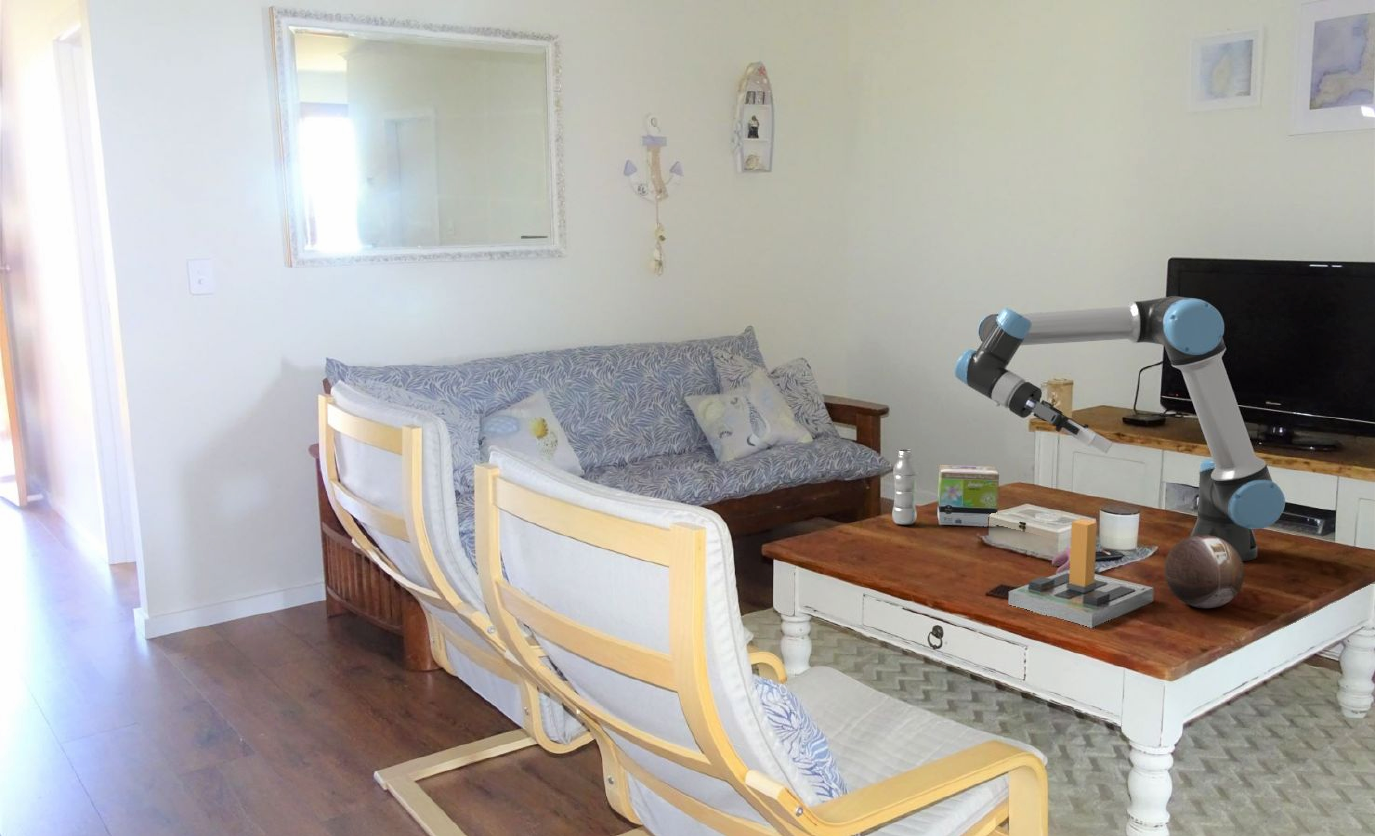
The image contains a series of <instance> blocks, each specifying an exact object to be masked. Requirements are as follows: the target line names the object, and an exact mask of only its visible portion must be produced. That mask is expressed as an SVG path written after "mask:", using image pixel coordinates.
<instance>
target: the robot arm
mask: <svg viewBox="0 0 1375 836" xmlns="http://www.w3.org/2000/svg"><path fill="white" fill-rule="evenodd" d="M1224 333H1225V322H1224V319H1223V316H1222V314H1221V312H1219V310H1218V308H1216V307H1215V306H1213V305H1212V304H1211V303H1209V302H1208V301H1206V300H1203V299H1200V298H1194V297H1185V296H1177V295H1172V296H1171V295H1170V296H1167V297H1166V296H1165V297H1161V298H1154V299H1148V300H1147V299H1146V300H1140V301H1139V300H1138V301H1130V303H1129V304H1128V305H1127V306H1116V307H1103V308H1102V307H1101V308H1086V309H1085V308H1084V309H1083V308H1082V309H1073V310H1071V309H1069V310H1056V311H1042V312H1027V313H1025V312H1024V313H1019V312H1016V311H1014V310H1012V309H1010V308H1008V307H1006V308H1003V309H1002V310H1001V311H1000V313H992V314H989V315H986V316H984V317H983V318H982V319H981V320H980V322H979V323H978V325H977V335H978V338H979V339H980V341H981V343H980V345H979V347H978V348H977V349H976V350H973V349H968V350H966V351H964V352H963V353H962V355H960V356H959V357H958V359H957V361H956V363H955V367H954V370H953V371H954V375H955V377H956V379H958V380H959V382H960V381H961V382H962V383H963V384H964V385H966V386H968V387H969V388H970V389H973V390H975V391H976V392H977V393H980V395H983V396H985V397H986V398H988V399H990V400H992V401H993V402H995V406H996V407H1000V406H1002V407H1004V408H1005V409H1009V411H1010V412H1011V413H1013V414H1015V415H1017V416H1018V417H1019V418H1022V419H1025V418H1028V417H1029V416H1030V415H1031V414H1032V413H1033V417H1035V418H1037V419H1039V420H1041V421H1044V422H1047V423H1049V424H1051V425H1052V426H1053V427H1055V428H1054V430H1055V431H1057V432H1058V433H1060V432H1061V431H1062V432H1065V433H1066V434H1068V435H1069V436H1071V437H1073V438H1075V439H1076V440H1078V441H1080V442H1081V443H1083V444H1085V445H1086V446H1088V447H1090V446H1093V447H1094V448H1096V449H1098V450H1100V451H1101V452H1103V453H1104V454H1107V453H1108V452H1109V450H1110V448H1111V447H1112V445H1113V444H1114V442H1112V441H1111V440H1109V439H1107V438H1105V437H1104V436H1102V435H1101V434H1099V433H1097V432H1095V431H1093V430H1092V429H1090V427H1089V426H1090V424H1087V423H1085V424H1084V425H1082V424H1081V423H1079V422H1077V421H1075V420H1074V419H1071V418H1070V417H1068V416H1066V415H1065V414H1063V412H1062V411H1061V410H1060V409H1058V408H1057V407H1054V405H1053V404H1052V403H1050V402H1048V401H1046V400H1044V399H1042V400H1041V398H1042V395H1043V391H1042V389H1041V388H1040V387H1038V386H1037V385H1035V384H1033V383H1031V382H1029V381H1027V380H1026V379H1025V378H1023V377H1021V376H1020V375H1018V374H1016V373H1014V372H1012V371H1011V370H1008V369H1007V367H1008V365H1009V364H1010V362H1011V360H1012V359H1013V357H1014V356H1015V354H1016V352H1017V351H1018V349H1019V347H1020V346H1030V345H1031V346H1032V345H1048V344H1049V345H1051V344H1067V343H1068V344H1069V343H1082V342H1083V343H1085V342H1100V341H1114V340H1115V341H1117V340H1119V341H1120V340H1129V341H1130V342H1131V343H1133V344H1137V343H1139V344H1140V343H1147V344H1148V343H1150V344H1156V345H1162V346H1164V349H1165V351H1166V354H1167V357H1168V359H1169V361H1170V365H1171V366H1172V367H1173V368H1175V369H1178V370H1180V371H1181V374H1182V376H1183V380H1184V383H1185V386H1186V388H1187V391H1188V393H1189V397H1190V399H1191V402H1192V404H1193V409H1194V410H1195V413H1196V416H1197V418H1198V419H1197V420H1198V422H1199V424H1200V425H1199V426H1200V427H1201V431H1202V434H1203V435H1204V436H1203V437H1204V439H1205V442H1206V444H1207V447H1208V450H1209V453H1210V455H1211V458H1205V459H1203V460H1202V461H1201V463H1200V469H1199V472H1198V474H1199V477H1198V478H1199V480H1198V481H1199V482H1198V501H1197V517H1196V518H1197V519H1196V521H1195V524H1194V527H1193V529H1192V530H1191V533H1190V535H1189V537H1190V536H1194V535H1211V536H1215V537H1218V538H1220V539H1222V540H1224V541H1226V542H1227V543H1229V544H1230V545H1231V546H1232V547H1233V548H1234V549H1235V550H1236V551H1237V553H1238V554H1239V556H1240V558H1241V560H1242V562H1245V561H1246V562H1247V561H1251V560H1255V559H1256V558H1257V557H1258V545H1257V541H1256V537H1255V533H1254V531H1253V530H1260V529H1261V530H1262V529H1264V528H1267V527H1270V526H1272V525H1273V524H1275V523H1276V522H1277V521H1278V520H1279V519H1280V517H1281V515H1282V514H1283V512H1284V509H1285V505H1286V498H1285V495H1284V493H1283V490H1282V489H1281V488H1280V486H1279V485H1278V484H1277V483H1276V482H1274V481H1273V479H1272V477H1271V473H1270V470H1269V468H1268V465H1267V463H1266V460H1265V459H1262V458H1260V457H1258V456H1257V455H1256V453H1255V450H1254V447H1253V445H1252V442H1251V440H1250V439H1251V438H1250V436H1249V433H1248V430H1247V428H1246V424H1245V421H1244V419H1243V416H1242V414H1241V410H1240V407H1239V405H1238V402H1237V399H1236V395H1235V392H1234V390H1233V388H1232V384H1231V381H1230V379H1229V375H1228V374H1227V373H1228V372H1227V369H1226V368H1225V365H1224V362H1223V359H1222V358H1223V356H1224V353H1225V352H1226V350H1227V347H1226V345H1225V342H1224V338H1223V336H1224Z"/></svg>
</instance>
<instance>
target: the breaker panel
mask: <svg viewBox="0 0 1375 836" xmlns="http://www.w3.org/2000/svg"><path fill="white" fill-rule="evenodd" d="M1069 575H1070V569H1069V570H1066V571H1063V572H1061V573H1058V574H1056V573H1055V574H1053V575H1050V576H1047V577H1046V576H1040V577H1037V578H1034V579H1032V580H1029V581H1028V584H1025V585H1023V586H1020V587H1017V588H1014V589H1011V590H1009V591H1008V601H1007V603H1008V604H1009V605H1012V606H1011V607H1013V606H1016V607H1015V608H1017V607H1020V608H1024V609H1027V610H1030V611H1029V612H1031V611H1033V612H1032V613H1035V612H1036V613H1035V614H1039V615H1043V616H1045V617H1049V616H1053V617H1057V618H1060V619H1064V620H1067V621H1071V622H1074V623H1078V624H1080V625H1079V626H1082V625H1084V626H1083V627H1085V626H1087V627H1086V628H1089V627H1090V628H1089V629H1093V628H1096V627H1098V626H1100V625H1102V624H1105V623H1107V622H1109V621H1111V619H1112V620H1113V618H1114V619H1116V618H1118V617H1121V616H1123V615H1126V614H1127V613H1130V612H1132V611H1135V610H1137V609H1139V608H1141V607H1144V606H1146V605H1149V604H1150V603H1153V602H1154V589H1155V588H1154V587H1152V586H1147V585H1144V584H1139V583H1135V582H1131V581H1126V580H1124V579H1123V580H1122V579H1118V578H1115V577H1114V578H1113V577H1109V576H1105V575H1101V574H1098V573H1095V576H1094V582H1097V585H1096V588H1095V589H1092V590H1090V591H1087V592H1085V593H1083V592H1079V591H1075V590H1071V589H1067V583H1068V582H1069ZM1009 605H1008V606H1009ZM1020 608H1019V609H1020ZM1024 609H1023V610H1024ZM1027 610H1026V611H1027ZM1046 615H1047V616H1046ZM1053 617H1052V618H1053ZM1060 619H1059V620H1060ZM1064 620H1063V621H1064ZM1108 620H1109V621H1108ZM1067 621H1066V622H1067ZM1106 621H1107V622H1106ZM1071 622H1070V623H1071ZM1104 622H1105V623H1104ZM1074 623H1073V624H1074ZM1101 623H1102V624H1101ZM1078 624H1077V625H1078ZM1099 624H1100V625H1099ZM1097 625H1098V626H1097ZM1095 626H1096V627H1095Z"/></svg>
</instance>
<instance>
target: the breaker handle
mask: <svg viewBox="0 0 1375 836" xmlns="http://www.w3.org/2000/svg"><path fill="white" fill-rule="evenodd" d="M1097 525H1098V522H1097V521H1093V520H1089V519H1083V518H1080V519H1076V520H1074V521H1071V532H1070V533H1071V534H1070V546H1071V550H1070V575H1069V582H1068V583H1067V589H1071V590H1075V591H1079V592H1083V593H1085V592H1087V591H1090V590H1092V589H1095V588H1096V585H1097V582H1094V576H1095V574H1096V573H1095V572H1096V554H1097V553H1096V548H1097V531H1098V530H1097V527H1098V526H1097Z"/></svg>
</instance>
